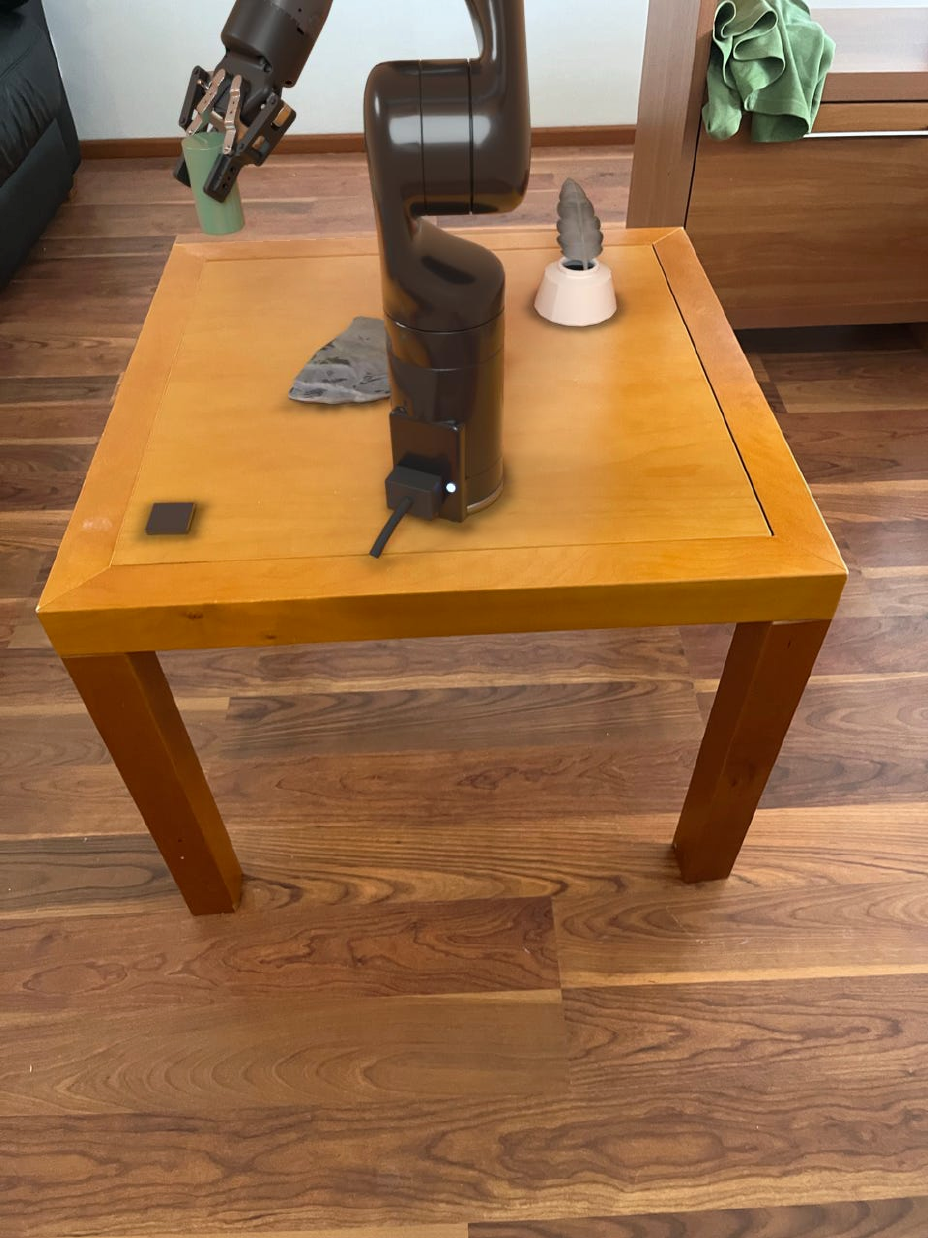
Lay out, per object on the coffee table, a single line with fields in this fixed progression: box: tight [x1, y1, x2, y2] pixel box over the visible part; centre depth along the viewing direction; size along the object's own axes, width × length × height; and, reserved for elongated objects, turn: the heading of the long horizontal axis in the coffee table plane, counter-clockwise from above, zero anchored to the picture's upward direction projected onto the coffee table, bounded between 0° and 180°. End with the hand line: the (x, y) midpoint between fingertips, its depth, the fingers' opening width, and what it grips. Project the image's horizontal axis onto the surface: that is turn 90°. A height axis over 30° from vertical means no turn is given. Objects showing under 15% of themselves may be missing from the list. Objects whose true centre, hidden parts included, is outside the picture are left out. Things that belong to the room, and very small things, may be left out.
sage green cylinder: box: [181, 131, 247, 237], centre depth 89 cm, size 4×4×8 cm
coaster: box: [144, 501, 196, 535], centre depth 79 cm, size 4×4×1 cm
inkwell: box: [533, 177, 618, 327], centre depth 103 cm, size 9×18×10 cm, turn 5°
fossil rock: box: [287, 316, 390, 405], centre depth 94 cm, size 18×15×2 cm
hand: (197, 189), depth 88 cm, fingers closed on sage green cylinder, 4 cm apart
